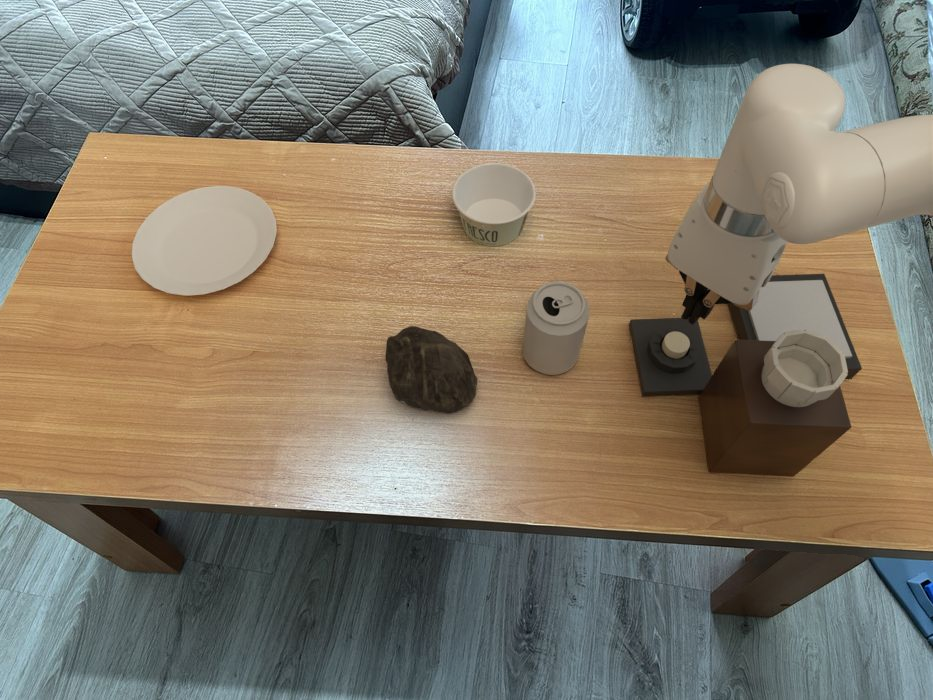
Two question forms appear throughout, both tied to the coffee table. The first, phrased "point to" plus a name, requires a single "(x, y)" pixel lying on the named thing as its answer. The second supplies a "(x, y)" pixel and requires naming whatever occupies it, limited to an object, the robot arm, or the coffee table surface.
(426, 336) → the rock
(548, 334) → the can
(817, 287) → the scale
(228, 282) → the plate
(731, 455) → the stand
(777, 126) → the robot arm
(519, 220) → the food container
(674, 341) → the button
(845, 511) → the coffee table surface
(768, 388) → the bowl
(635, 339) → the pad
